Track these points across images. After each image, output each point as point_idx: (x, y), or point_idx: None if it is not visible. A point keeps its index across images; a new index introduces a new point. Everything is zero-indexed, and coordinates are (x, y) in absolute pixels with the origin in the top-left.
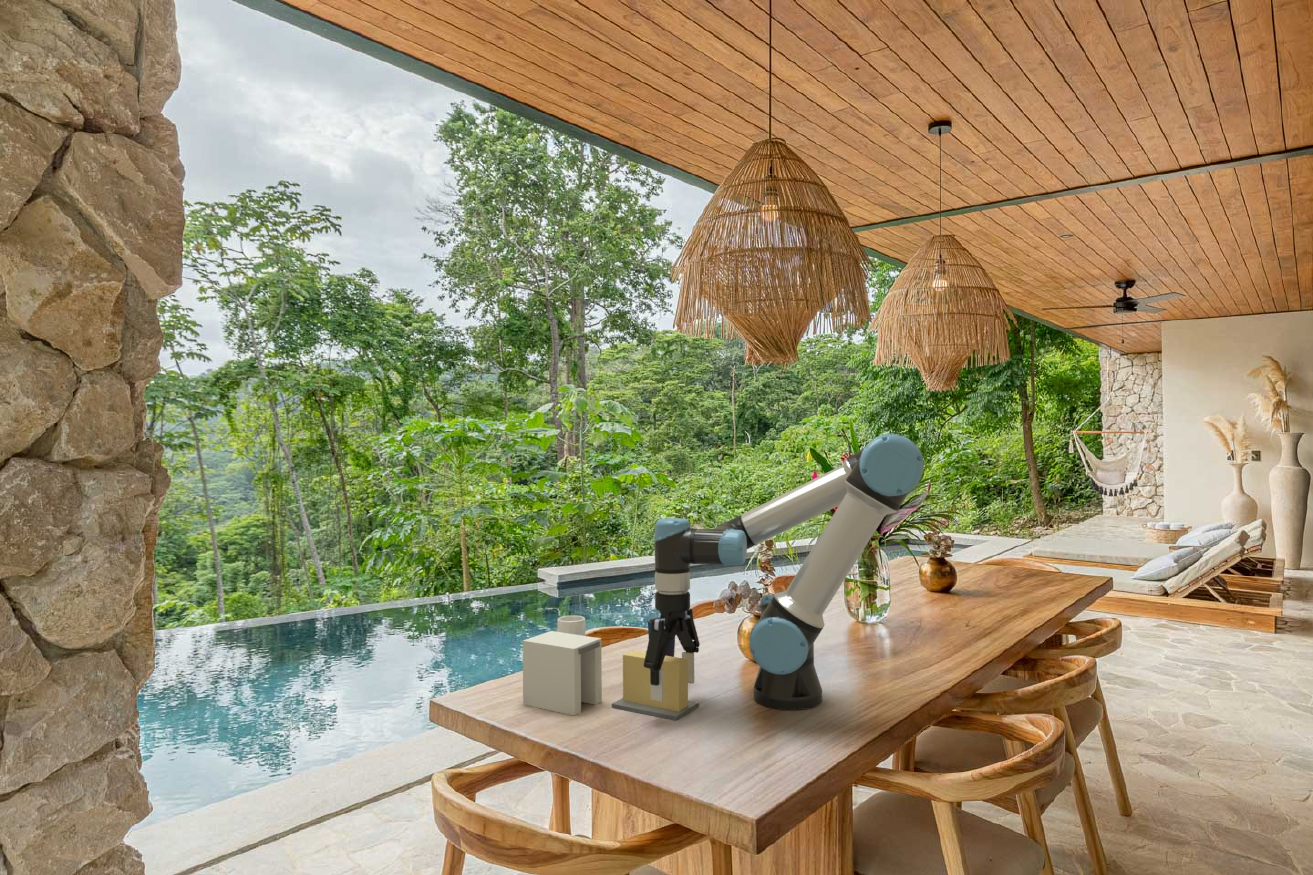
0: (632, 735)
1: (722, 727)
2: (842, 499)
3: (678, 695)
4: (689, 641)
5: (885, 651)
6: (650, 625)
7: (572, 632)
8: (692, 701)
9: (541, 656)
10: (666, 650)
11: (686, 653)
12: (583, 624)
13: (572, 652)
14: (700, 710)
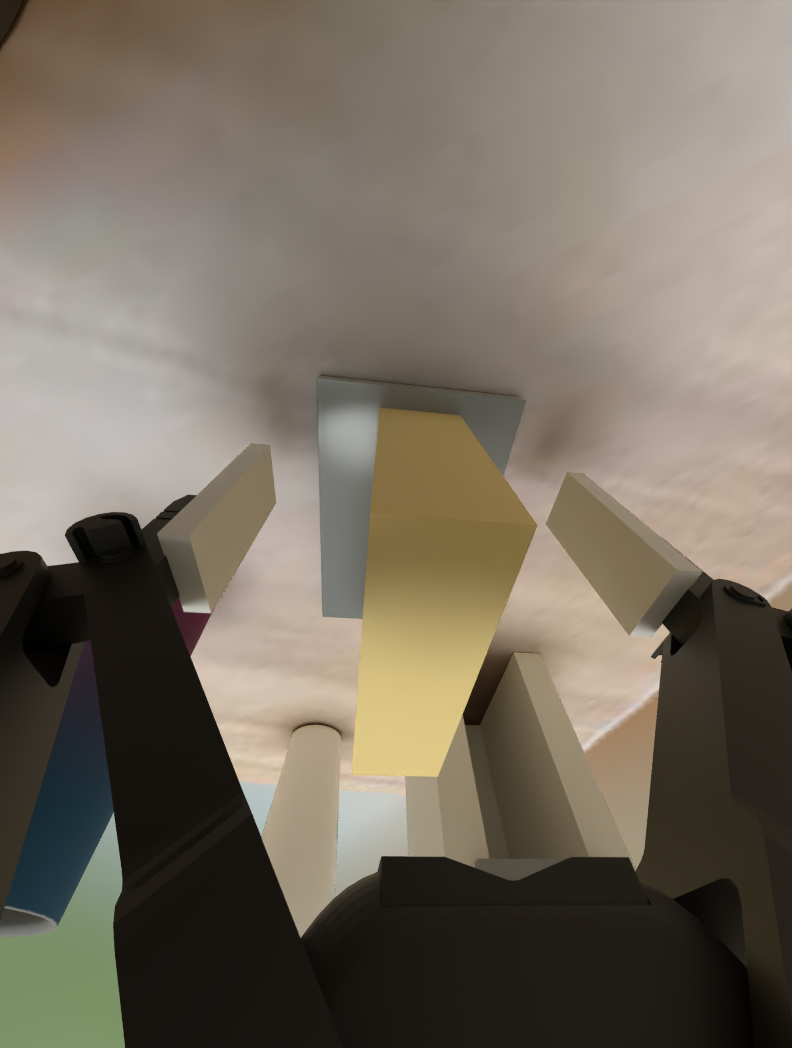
0: (687, 478)
1: (572, 88)
2: None
3: (475, 438)
4: (169, 646)
5: None
6: (73, 891)
7: (321, 910)
8: (320, 410)
9: None
10: (734, 691)
11: (204, 579)
12: None
13: None
14: (366, 344)
